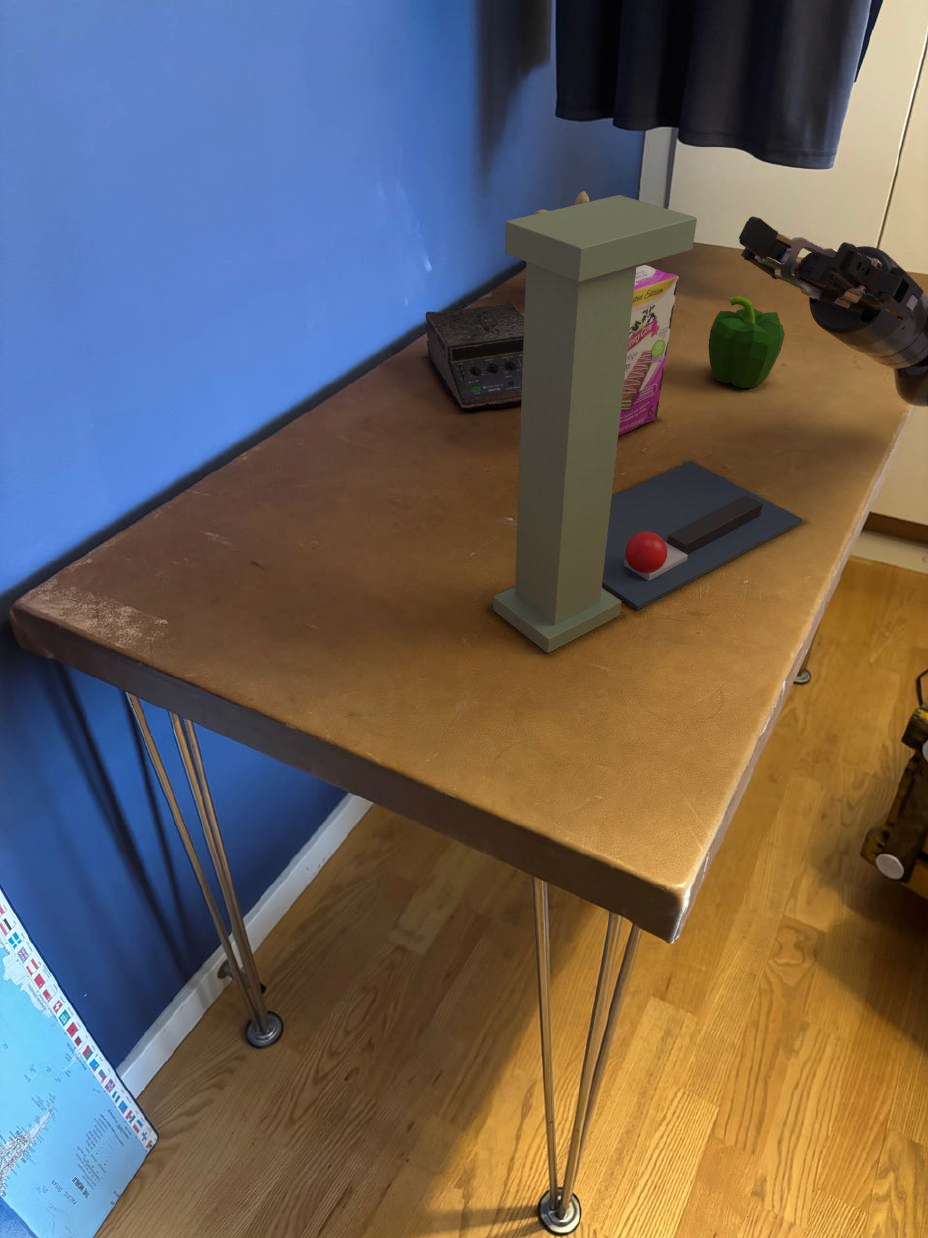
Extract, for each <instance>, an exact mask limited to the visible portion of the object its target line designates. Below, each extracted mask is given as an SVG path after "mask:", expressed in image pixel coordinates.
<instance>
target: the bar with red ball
mask: <svg viewBox="0 0 928 1238" xmlns="http://www.w3.org/2000/svg"><path fill="white" fill-rule="evenodd" d="M762 505H763V503H761V502H759V501H757V500H755V499H753V498H751V497H749V496H747V495H745V496H743V497H741V498H739V499H737V500H735V501H733V502H731V503H730V504H728V505H726V506H724V507H722V508H720V509H718V510H716V511H714V512H712V513H710V514H708V515H706V516H705V517H703V518H701V519H699V520H697V521H695V522H693V523H691V524H689V525H687V526H685V527H683V528H681V529H679V530H678V531H676V532H674V533H672V534H670V535H668V541H667V543H666V542H665V541H664V540H663V539H662V538H661V537H660V536H659V535H657V534H656V533H653V532H640V533H638V534H636V535H634V536H633V537H632V538H631V539H630V540H629V541H628V543H627V545H626V549H625V556H626V560H625V561H624V566H625V567H627V568H629V569H630V570H632V571H633V572H635V573H637V574H638V575H640V576H641V577H643V578H645V579H646V580H648V581H650V580H652V579H653V578H655V577H657V576H659V575H661V574H663V573H664V572H666V571H668V570H670V569H672V568H674V567H675V566H677V565H679V564H681V563H683V562H684V561H686V560H687V557H688V555H689V554H690V553H692V552H694V551H696V550H698V549H700V548H701V547H703V546H705V545H707V544H709V543H711V542H712V541H714V540H716V539H718V538H720V537H722V536H724V535H725V534H727V533H729V532H731V531H733V530H735V529H736V528H738V527H740V526H742V525H744V524H746V523H747V522H749V521H751V520H753V519H755V518H757V517H759V516H760V514H761V509H762Z"/></svg>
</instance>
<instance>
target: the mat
mask: <svg viewBox="0 0 928 1238" xmlns="http://www.w3.org/2000/svg"><path fill="white" fill-rule="evenodd" d="M745 495H747V496H749V497H751V498H753V499H755V500H757V501H759V502H761V503H763V505H762V509H761V514H760V516H759V517H757V518H755V519H753V520H751V521H749V522H747V523H746V524H744V525H742V526H740V527H738V528H736V529H735V530H733V531H731V532H729V533H727V534H725V535H724V536H722V537H720V538H718V539H716V540H714V541H712V542H711V543H709V544H707V545H705V546H703V547H701V548H700V549H698V550H696V551H694V552H692V553H690V554H689V555H688V557H687V560H686V561H684V562H683V563H681V564H679V565H677V566H675V567H674V568H672V569H670V570H668V571H666V572H664V573H663V574H661V575H659V576H657V577H655V578H653V579H652V580H650V581H648V580H646V579H645V578H643V577H641V576H640V575H638V574H637V573H635V572H633V571H632V570H630V569H629V568H627V567H625V566H624V561H625V560H626V556H625V549H626V545H627V543H628V541H629V540H630V539H631V538H632V537H633V536H634V535H636V534H638V533H640V532H653V533H656V534H657V535H659V536H660V537H661V538H662V539H663V540H664V541H665V542H666V543H667V541H668V535H670V534H672V533H674V532H676V531H678V530H679V529H681V528H683V527H685V526H687V525H689V524H691V523H693V522H695V521H697V520H699V519H701V518H703V517H705V516H706V515H708V514H710V513H712V512H714V511H716V510H718V509H720V508H722V507H724V506H726V505H728V504H730V503H731V502H733V501H735V500H737V499H739V498H741V497H743V496H745ZM802 522H803V518H802V517H800V516H798V515H796V514H794V513H792V512H790V511H788V510H787V509H785V508H782V507H780V506H779V505H777V504H775V503H773V502H771V501H769V500H768V499H765V498H764V497H761V496H759V495H757V494H755V493H753V492H751V491H750V490H748V489H746V488H744V487H742V486H740V485H738V484H736V483H734V482H733V481H730V480H728V479H727V478H724V477H722V476H720V475H718V474H716V473H715V472H712V471H711V470H709V469H707V468H705V467H703V466H701V465H699V464H697V463H695V462H694V461H692V460H691V461H688V462H685V463H683V464H682V465H679V466H677V467H674V468H673V469H670V470H668V471H666V472H663V473H660V474H658V475H656V476H654V477H652V478H649V479H647V480H645V481H643V482H640V483H638V484H636V485H634V486H632V487H629V488H627V489H625V490H622V491H621V492H618V493H616V494H614V495H613V494H612V497H611V506H610V515H609V525H608V534H607V543H606V552H605V561H604V571H603V580H602V588H603V589H604V590H606V591H607V592H609V593H610V594H612V595H613V596H615V597H616V598H618V599H619V600H620V601H622V602H623V603H625V604H626V605H628V606H629V607H631V608H632V609H634V610H635V611H640V610H642V609H643V608H645V607H647V606H648V605H650V604H653V603H654V602H656V601H658V600H660V599H662V598H664V597H665V596H667V595H669V594H671V593H673V592H675V591H676V590H679V589H680V588H682V587H685V586H686V585H688V584H690V583H691V582H693V581H696V580H697V579H699V578H702V577H703V576H705V575H706V574H709V573H710V572H712V571H715V570H716V569H718V568H720V567H722V566H723V565H726V564H727V563H729V562H731V561H733V560H735V559H737V558H739V557H741V556H742V555H744V554H746V553H748V552H751V550H754V549H755V548H758V547H759V546H761V545H763V544H765V543H767V542H768V541H771V540H772V539H774V538H776V537H778V536H780V535H782V534H783V533H785V532H787V531H790V530H792V529H793V528H795V527H797V526H799V525H800V524H802Z"/></svg>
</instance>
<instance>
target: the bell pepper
mask: <svg viewBox="0 0 928 1238" xmlns="http://www.w3.org/2000/svg"><path fill="white" fill-rule="evenodd" d="M729 303H730V305H731V307H733V306H736V305H738V306H742V307H743V308H740V309H738V310H736V311H731V310H720V311H719V312H718V314H717V315H716V317H715V318H714V320H713V322H712V325H711V326H710V327H711V328H710V330H709V331H710V332H709V337H708V357H709V358H708V359H709V366H710V371H711V373H712V375H713V377H714V379H715V380H716V381H717V382H720V383H724V384H731V385H733V386H735V387H738V388H740V389H748V388H752V389H753V388H755V387H759V386H761V384H762V383H763V382H764V381H765V380H766V379H767V377H769V375H770V374H771V371H772V369H773V368H774V366H775V363H776V361H777V359H778V357H779V356H780V353H781V352H782V351H781V350H782V347H783V343H784V339H785V335H786V333H785V329H784V326H783V324H781V320H780V317H779V315H778V313H777V311H770V312H769V311H768V312H762V311H761V310H758V309H756V308H754V305H753V302H752V301H751V300H749V299H748V298H747V297H743V296H738V295H735V296H730V297H729Z"/></svg>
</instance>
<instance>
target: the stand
mask: <svg viewBox="0 0 928 1238" xmlns="http://www.w3.org/2000/svg"><path fill="white" fill-rule="evenodd" d="M547 211H548V212H543V213H539V214H535V215H533V214H531V215H527V216H523V217H517V218H513V219H509V220H506V221H505V225H504V254H505V255H509V256H511V257H513V258H515V259H518V260H521V261H524V262H525V264H526V265H525V286H524V287H525V289H524V291H525V292H524V315H523V316H524V345H523V374H522V403H521V404H520V405H521V406H520V407H521V408H520V409H521V410H520V436H519V439H520V440H519V462H518V463H519V465H518V495H517V523H516V524H517V525H516V551H515V552H516V555H515V581H514V584H515V585H514V586H512V587H510V588H507V589H506V590H504V591H502V592H499V593H497V594H495V595H493V598H492V607H493V608H492V610H493V612H495V613H496V614H497V615H498V616H500V617H501V618H502V619H503V620H505V621H506V622H508V623H509V624H510V625H511V626H512V627H513V628H515V629H516V630H517V631H518V632H520V633H521V634H523V635H524V636H525V637H526V638H527V639H529V640H530V641H531V642H533V644H535V645H536V646H538V647H539V648H540V649H541V650H542V651H544V652H545V653H547V654H549V653H551V652H553V651H555V650H557V649H559V648H560V647H563V646H564V645H566V644H568V643H570V642H572V641H574V640H576V639H578V638H579V637H580V638H581V636H584V635H585V634H587V633H589V632H590V631H591V632H592V631H593V630H595V629H597V628H599V627H600V626H602V625H604V624H606V623H608V622H610V621H612V620H613V619H615V618H618V617H619V616H621V610H622V602H623V601H622V600H621V599H619V598H618V597H616V596H615V595H614V594H612V593H611V592H609V591H608V590H606V589H605V588H603V587H602V580H603V571H604V561H605V552H606V543H607V534H608V525H609V515H610V506H611V497H612V496H613V488H614V478H615V477H614V476H615V468H616V461H617V460H616V458H617V451H618V449H617V448H618V442H619V441H618V439H619V436H618V433H619V424H620V414H621V405H622V396H623V387H624V378H625V368H626V359H627V350H628V341H629V332H630V322H631V313H632V304H633V295H634V286H635V276H636V267H638V266H641V265H645V264H648V263H651V262H655V261H658V260H661V259H665V258H668V257H671V256H675V255H679V254H682V253H685V252H689V251H693V248H694V242H695V235H696V227H697V223H698V222H697V221H698V218H697V217H696V216H693V215H690V214H686V213H683V212H679V211H676V210H672V209H669V208H665V207H662V206H658V205H655V204H652V203H649V202H645V201H641V200H638V199H635V198H632V197H627V196H624V195H622V194H617V195H612V196H608V197H604V198H600V199H595V200H592V201H589V202H587V203H582V204H578V205H575V204H574V205H570V206H565V207H561V208H557V209H553V210H547Z"/></svg>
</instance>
